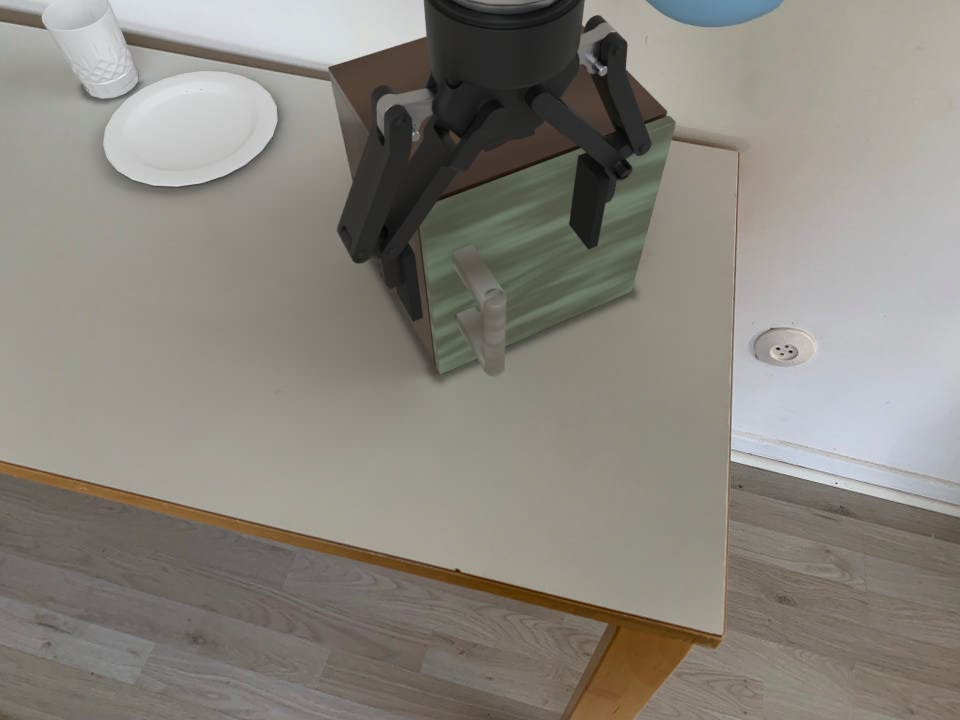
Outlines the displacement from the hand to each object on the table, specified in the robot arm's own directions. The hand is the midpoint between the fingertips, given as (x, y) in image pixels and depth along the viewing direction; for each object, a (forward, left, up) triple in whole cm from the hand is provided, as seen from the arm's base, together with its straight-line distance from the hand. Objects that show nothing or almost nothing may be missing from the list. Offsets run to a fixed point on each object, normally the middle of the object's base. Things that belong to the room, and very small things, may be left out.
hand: (499, 269), depth 51 cm
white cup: (+66, +22, -21) cm, 73 cm away
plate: (+51, +15, -21) cm, 57 cm away
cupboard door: (+3, -8, -21) cm, 23 cm away
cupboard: (+16, -8, -21) cm, 28 cm away
